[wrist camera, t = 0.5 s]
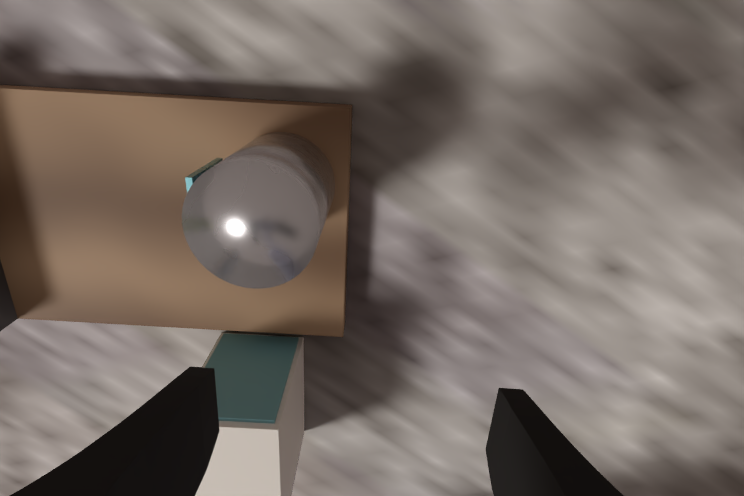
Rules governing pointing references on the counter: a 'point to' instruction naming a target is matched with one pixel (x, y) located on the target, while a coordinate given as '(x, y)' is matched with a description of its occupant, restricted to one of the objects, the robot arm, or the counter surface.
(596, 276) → the counter surface
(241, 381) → the carton
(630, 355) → the counter surface
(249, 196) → the tin
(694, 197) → the counter surface
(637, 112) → the counter surface
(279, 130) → the tan wooden panel
